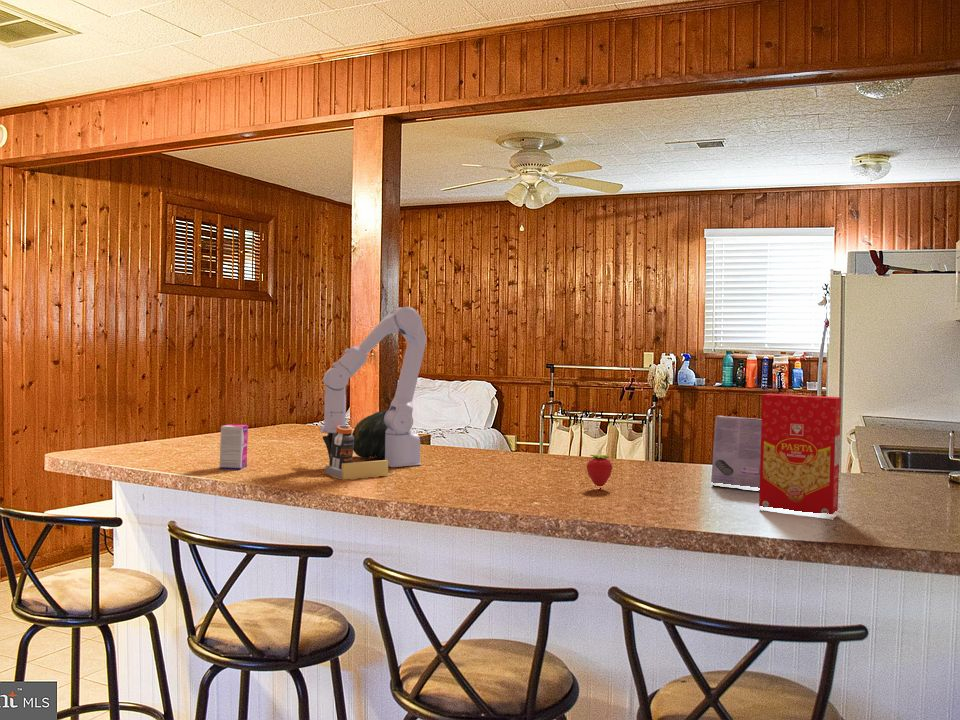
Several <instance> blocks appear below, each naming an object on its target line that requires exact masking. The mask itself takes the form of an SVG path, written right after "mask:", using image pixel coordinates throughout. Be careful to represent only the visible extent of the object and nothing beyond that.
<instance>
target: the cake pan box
mask: <svg viewBox="0 0 960 720" xmlns="http://www.w3.org/2000/svg"><path fill="white" fill-rule="evenodd" d="M761 419H762V418H755V417H753V418H752V417H750V418H748V417H738V416H729V415H727V416H726V415H725V416H724V415H716V416H715V424H714V437H713V448H712V450H713V451H712V465H711V478H710V479H711V480H710V483H711V482H713V483H723V484H731V485H740V486H750V487H758V488H760V455H761Z"/></svg>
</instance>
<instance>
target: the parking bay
mask: <svg viewBox="0 0 960 720" xmlns="http://www.w3.org/2000/svg"><path fill="white" fill-rule="evenodd" d="M325 473H326V475H328V474H329V475H328V476H331V475H332V476H331V477H333V476H334V478H336V477H337V479H339V478H340V479H339V480H342V479H343V480H342V481H345V480H344V479H351V480H358V479H357V478H362V479H369V478H368V477H373V478H380V477H379V476H384V477H388V476H389V466H388V460H385V459H382V460H369V461H356V462H355V461H354V462H352V463H342V470H341V469H338V468H336V467H333V466H329V465H325ZM325 473H324V474H325Z"/></svg>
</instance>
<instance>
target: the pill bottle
mask: <svg viewBox="0 0 960 720" xmlns="http://www.w3.org/2000/svg"><path fill="white" fill-rule="evenodd" d="M352 430H353V428H352V426H350V425H339V426H337V430H336V431H337V433H335V434H333V436H332V444H331V453H330V459H329V464H328V466H333V467H336V468H338V469H341V470H342V463H353V454H354V450H353V448H354V436H353V435H352V433H353V431H352Z"/></svg>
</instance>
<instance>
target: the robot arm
mask: <svg viewBox="0 0 960 720" xmlns="http://www.w3.org/2000/svg"><path fill="white" fill-rule="evenodd" d="M422 319H423V318H422V316H421V315H420V314H419V312H418V311H417V310H416V309H415V308H413V307H412V306H403V307H400V306H399V307H395V308H394V309H393V310H392V311H391V312H390V313H389V314H387V315H386V316H384V317H383V318H382V319H381V320H380V321H379V322H378V323H377V324H376V325H375V327H374V328H373V329H372V330H371V332H370V333H369V334H368V335H367V336H366V337H365V338H364V339H363V340H362V342H360V344H359V345H358V346H351V347H350V348H347V347H346V348H345V350H344V354H343V355H342V356H341V357H340V358H339V359H338V360H337V361H335V362H333V363H332V364H331V365H332V366H333V367H331V368H329V369H327V370H326V372H325V373H324V376H323V377H322V382H323V383H324V385H325V387H324V388H325V389H324V392H325V394H324V412H323V413H324V415H323V416H324V417H323V418H324V419H323V423H324V424H323V425H320V428H319V431H320V433H322V434H323V433H325V434H327V435H322V440H323V443H324V445H325V446H326V449H327V453H328V458H329V459H328V460H330V453H331V444H332V436H333V434H335V433H337V431H336V430H337V426H339V425H346V420H347V419H346V417H347V415H346V412H347V407H346V405H347V394H346V390H347V389H346V387H347V386H348V384H349V380H350V379H349V378H352V377H353V376H354V375H355V374H356V373H357V372H358V371H359V370H360V369H361V368H362V367H363V365H365V363H366V362H367V361H368V354H369V353H370V352H371V351H373V349H374V348H375V347H376V346H377V345H378V344H379V343H380V342H381V341H382V340H383V339H384V338H385V337H386V336H387V335H389V334H392V333H396V332H399V333H400V334H401V335H402V337H403V338H404V340H405V341H406V343H407V345H406V348H405V352H404V357H403V361H402V365H401V370H400V373H399V378H398V380H397V386H396V390H395V393H394V397H393V398H392V401H391V402H390V405H389V409H387V412H386V414H385V416H384V422H385V425H386V426H387V427H388V428H387V430H386V431H385V459H384V460H388V468H389V467H390V468H398V467H413V466H421V465H422V462H421V439H420V436H419V434H418V433H416V432H412V430H411V429H412V427H413V426H414V425H413V424H414V417H413V411H414V406H413V405H414V404H413V399H414V394H415V391H416V386H417V382H418V378H419V374H420V370H421V367H422V366H421V365H422V361H423V357H424V353H425V350H426V349H425V348H426V344H427V335H426V333H425V329H424V325H423V323H422V322H423V320H422ZM346 426H347V425H346Z"/></svg>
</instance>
